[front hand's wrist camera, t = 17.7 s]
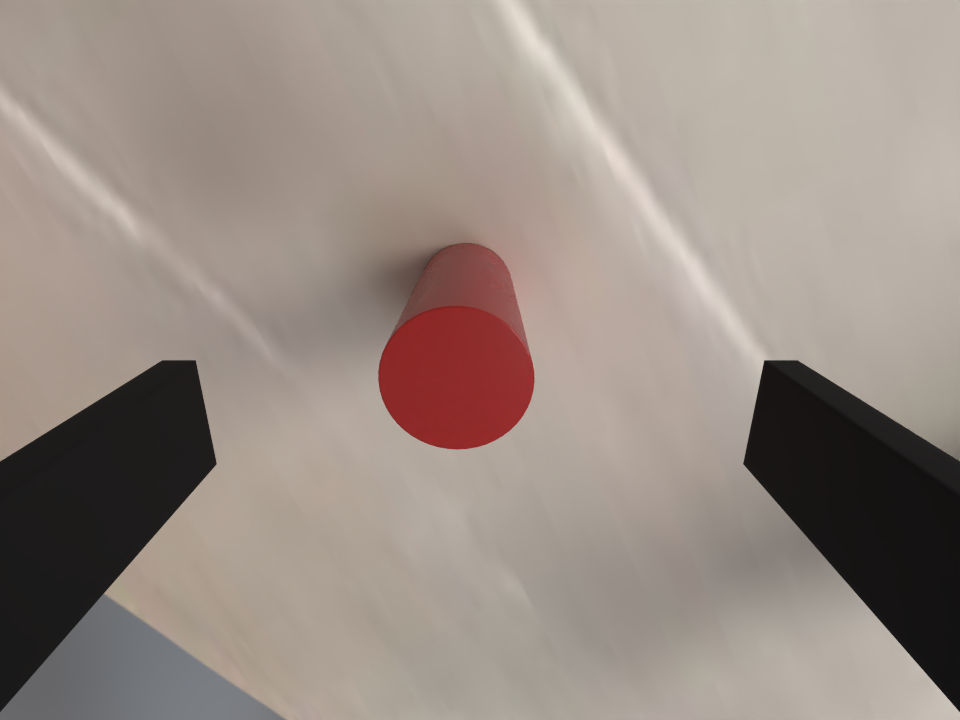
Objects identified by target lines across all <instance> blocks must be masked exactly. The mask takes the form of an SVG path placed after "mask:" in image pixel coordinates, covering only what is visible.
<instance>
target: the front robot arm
mask: <svg viewBox="0 0 960 720" xmlns="http://www.w3.org/2000/svg"><path fill="white" fill-rule="evenodd" d="M216 464H217V463H216V458H215V454H214V449H213V444H212V439H211V434H210V429H209V424H208V419H207V414H206V409H205V404H204V399H203V395H202V390H201V385H200V380H199V375H198V370H197V365H196V360H162V361H161V362H159V363H158V364H156V365H154V366H153V367H151V368H150V369H148V370H146V371H145V372H143V373H142V374H140V375H138V376H137V377H135V378H134V379H132V380H130V381H129V382H127V383H125V384H124V385H122V386H121V387H119V388H117V389H116V390H114V391H113V392H111V393H109V394H108V395H106V396H105V397H103V398H101V399H100V400H98V401H97V402H95V403H93V404H92V405H90V406H89V407H87V408H85V409H84V410H82V411H81V412H79V413H77V414H76V415H74V416H73V417H71V418H69V419H68V420H66V421H65V422H63V423H61V424H60V425H58V426H57V427H55V428H53V429H52V430H50V431H49V432H47V433H45V434H44V435H42V436H41V437H39V438H37V439H36V440H34V441H33V442H31V443H29V444H28V445H26V446H24V447H23V448H21V449H20V450H18V451H16V452H15V453H13V454H12V455H10V456H8V457H7V458H5V459H4V460H2V461H0V712H1V710H2V709H3V708H4V707H5V706H6V705H7V704H8V702H9V701H10V700H11V699H12V698H13V697H14V696H15V694H16V693H17V692H18V691H19V690H20V689H21V688H22V686H23V685H24V684H25V683H26V682H27V681H28V680H29V678H30V677H31V676H32V675H33V674H34V673H35V671H36V670H37V669H38V668H39V667H40V666H41V665H42V663H43V662H44V661H45V660H46V659H47V658H48V657H49V655H50V654H51V653H52V652H53V651H54V650H55V649H56V647H57V646H58V645H59V644H60V643H61V642H62V641H63V639H64V638H65V637H66V636H67V635H68V634H69V632H70V631H71V630H72V629H73V628H74V627H75V626H76V625H77V623H78V622H79V621H80V620H81V619H82V618H83V617H84V615H85V614H86V613H87V612H88V611H89V610H90V608H91V607H92V606H93V605H94V604H95V603H96V602H97V600H98V599H99V598H100V597H101V596H102V595H103V594H104V592H105V591H106V590H107V589H108V588H109V587H110V586H111V584H112V583H113V582H114V581H115V580H116V579H117V578H118V576H119V575H120V574H121V573H122V572H123V571H124V570H125V568H126V567H127V566H128V565H129V564H130V563H131V562H132V560H133V559H134V558H135V557H136V556H137V555H138V554H139V552H140V551H141V550H142V549H143V548H144V547H145V546H146V544H147V543H148V542H149V541H150V540H151V539H152V537H153V536H154V535H155V534H156V533H157V532H158V531H159V529H160V528H161V527H162V526H163V525H164V524H165V523H166V521H167V520H168V519H169V518H170V517H171V516H172V515H173V513H174V512H175V511H176V510H177V509H178V508H179V507H180V505H181V504H182V503H183V502H184V501H185V500H186V499H187V497H188V496H189V495H190V494H191V493H192V492H193V491H194V489H195V488H196V487H197V486H198V485H199V484H200V483H201V481H202V480H203V479H204V478H205V477H206V476H207V474H208V473H209V472H210V471H211V470H212V469H213V468H214V466H215V465H216ZM743 464H744V465H745V466H746V468H747V469H748V470H749V471H750V472H751V473H752V474H753V476H754V477H755V478H756V479H757V480H758V481H759V483H760V484H761V485H762V486H763V487H764V488H765V489H766V491H767V492H768V493H769V494H770V495H771V496H772V497H773V499H774V500H775V501H776V502H777V503H778V504H779V505H780V507H781V508H782V509H783V510H784V511H785V512H786V513H787V515H788V516H789V517H790V518H791V519H792V520H793V521H794V523H795V524H796V525H797V526H798V527H799V528H800V529H801V531H802V532H803V533H804V534H805V535H806V536H807V537H808V539H809V540H810V541H811V542H812V543H813V544H814V546H815V547H816V548H817V549H818V550H819V551H820V552H821V554H822V555H823V556H824V557H825V558H826V559H827V560H828V562H829V563H830V564H831V565H832V566H833V567H834V568H835V570H836V571H837V572H838V573H839V574H840V575H841V576H842V578H843V579H844V580H845V581H846V582H847V583H848V584H849V586H850V587H851V588H852V589H853V590H854V591H855V592H856V594H857V595H858V596H859V597H860V598H861V599H862V600H863V602H864V603H865V604H866V605H867V606H868V607H869V608H870V610H871V611H872V612H873V613H874V614H875V615H876V617H877V618H878V619H879V620H880V621H881V622H882V623H883V625H884V626H885V627H886V628H887V629H888V630H889V631H890V633H891V634H892V635H893V636H894V637H895V638H896V639H897V641H898V642H899V643H900V644H901V645H902V646H903V647H904V649H905V650H906V651H907V652H908V653H909V654H910V655H911V657H912V658H913V659H914V660H915V661H916V662H917V663H918V665H919V666H920V667H921V668H922V669H923V670H924V671H925V673H926V674H927V675H928V676H929V677H930V678H931V680H932V681H933V682H934V683H935V684H936V685H937V686H938V688H939V689H940V690H941V691H942V692H943V693H944V694H945V696H946V697H947V698H948V699H949V700H950V701H951V702H952V704H953V705H954V706H955V707H956V708H957V709H958V710H959V712H960V461H958V460H956V459H955V458H953V457H952V456H950V455H948V454H947V453H945V452H944V451H942V450H940V449H939V448H937V447H936V446H934V445H932V444H931V443H929V442H927V441H926V440H924V439H923V438H921V437H919V436H918V435H916V434H915V433H913V432H911V431H910V430H908V429H907V428H905V427H903V426H902V425H900V424H899V423H897V422H895V421H894V420H892V419H891V418H889V417H887V416H886V415H884V414H883V413H881V412H879V411H878V410H876V409H875V408H873V407H871V406H870V405H868V404H867V403H865V402H863V401H862V400H860V399H859V398H857V397H855V396H854V395H852V394H851V393H849V392H847V391H846V390H844V389H843V388H841V387H839V386H838V385H836V384H834V383H833V382H831V381H830V380H828V379H826V378H825V377H823V376H822V375H820V374H818V373H817V372H815V371H814V370H812V369H810V368H809V367H807V366H806V365H804V364H802V363H801V362H799V361H798V360H764V365H763V370H762V375H761V380H760V385H759V390H758V395H757V399H756V404H755V409H754V414H753V419H752V424H751V429H750V434H749V439H748V444H747V449H746V454H745V458H744V463H743Z"/></svg>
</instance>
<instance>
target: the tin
mask: <svg viewBox="0 0 960 720" xmlns="http://www.w3.org/2000/svg"><path fill="white" fill-rule="evenodd" d="M378 373H379V388H380V392H381V396H382V399H383V402H384V404H385V406H386V408H387V410H388V411H389V413H390V415H391V416H392V417H393V419H394V420H395V421H396V422H397V424H398V425H400V426H401V427H402V428H403V429H404V430H405V431H406V432H408V433H409V434H410V435H412V436H413V437H415V438H417V439H418V440H420V441H422V442H425V443H427V444H430V445H433V446H436V447H441V448H447V449H469V448H474V447H479V446H482V445H486V444H488V443H490V442H493V441H495V440H496V439H498V438H500V437H502V436H503V435H504V434H506V433H507V432H508V431H510V430H511V429H512V428H513V427H514V426H515V425H516V424H517V423H518V422H519V420H520V419H521V418H522V416H523V415H524V413H525V411H526V410H527V408H528V405H529V403H530V401H531V397H532V394H533V389H534V369H533V363H532V359H531V355H530V351H529V347H528V343H527V339H526V335H525V331H524V327H523V323H522V319H521V315H520V311H519V307H518V303H517V299H516V295H515V291H514V287H513V283H512V279H511V276H510V273H509V271H508V268H507V267H506V265H505V263H504V262H503V261H502V260H501V258H500V257H499V256H497V255H496V254H495V253H494V252H492V251H491V250H489V249H487V248H485V247H483V246H480V245H476V244H469V243H463V244H456V245H452V246H449V247H447V248H445V249H443V250H441V251H440V252H438V253H437V254H436V255H435V256H434V257H433V258H432V259H431V260H430V261H429V262H428V264H427V266H426V267H425V269H424V271H423V273H422V275H421V277H420V279H419V281H418V283H417V285H416V287H415V289H414V291H413V293H412V295H411V297H410V299H409V301H408V303H407V305H406V307H405V309H404V311H403V313H402V315H401V317H400V319H399V321H398V323H397V325H396V326H395V328H394V330H393V332H392V334H391V336H390V338H389V340H388V342H387V344H386V346H385V349H384V351H383V353H382V356H381V360H380V364H379V371H378Z"/></svg>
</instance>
